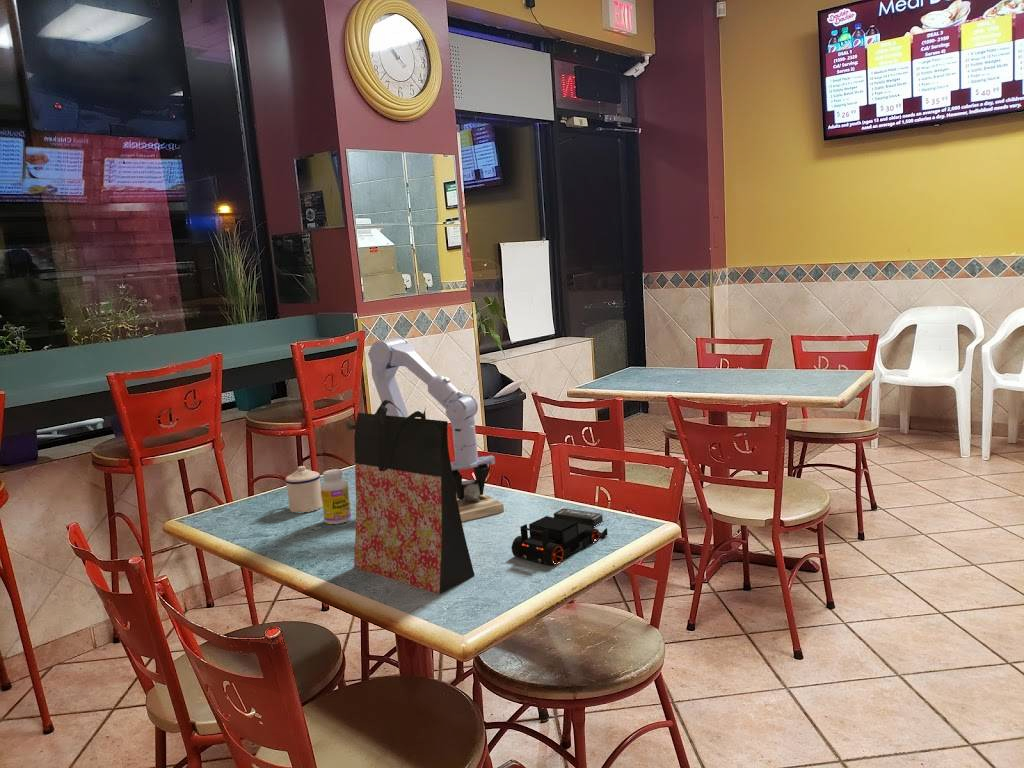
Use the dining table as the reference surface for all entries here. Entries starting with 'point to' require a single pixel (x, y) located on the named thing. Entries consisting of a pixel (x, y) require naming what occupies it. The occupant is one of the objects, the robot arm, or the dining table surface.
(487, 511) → the keyhole plate
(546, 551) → the toy truck
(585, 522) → the multiport hub
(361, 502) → the gift bag
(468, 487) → the keyhole peg
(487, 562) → the dining table surface
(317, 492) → the teacup with lid
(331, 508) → the supplement bottle
